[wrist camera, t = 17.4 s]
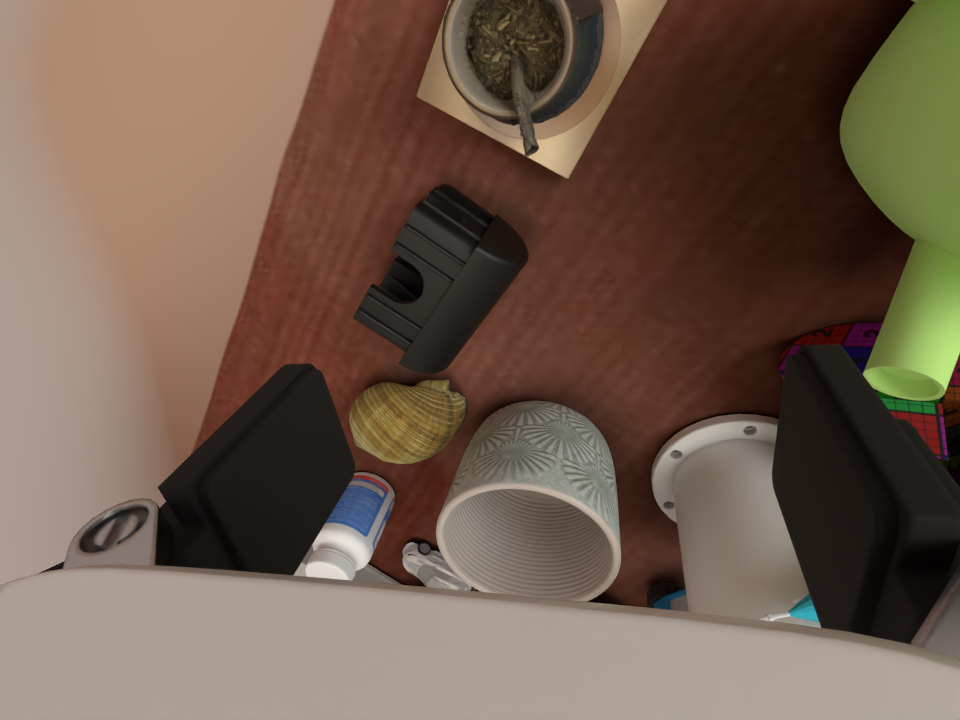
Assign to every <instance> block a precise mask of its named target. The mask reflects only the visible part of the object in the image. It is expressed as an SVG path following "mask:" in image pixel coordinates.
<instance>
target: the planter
mask: <svg viewBox="0 0 960 720" xmlns="http://www.w3.org/2000/svg"><path fill="white" fill-rule="evenodd" d="M436 539H437V544H438V547H439V550H440V552H441V554H442V556H443V558H444V560H445V561H446V563H447V564H448V565H449V567H450V568H451V569H452V570H453V571H454V572H455V573H456V574H457V575H458V576H459V577H460V578H461V579H462V580H464V581H465V582H466V583H468V584H469V585H470V586H472V587H474V588H475V589H477V590H479V591H480V592H487V593H498V594H509V595H519V596H530V597H541V598H551V599H562V600H572V601H583V602H587V601H589V600H591V599H593V598H595V597H597V596H598V595H600V594H601V593H603V592H604V591H605V590H606V589H607V588H608V587H609V586H610V585H611V584H612V583H613V581H614V580H615V578H616V576H617V574H618V572H619V569H620V564H621V547H620V529H619V512H618V497H617V487H616V477H615V470H614V465H613V460H612V456H611V453H610V450H609V447H608V445H607V443H606V441H605V439H604V437H603V435H602V434H601V433H600V431H599V430H598V429H597V427H596V426H595V425H594V424H593V423H592V422H591V421H590V420H589V419H587V418H586V417H585V416H583V415H582V414H580V413H578V412H577V411H575V410H573V409H571V408H569V407H566V406H564V405H560V404H557V403H553V402H547V401H524V402H518V403H514V404H511V405H508V406H505V407H503V408H501V409H499V410H498V411H496V412H495V413H493V414H492V415H490V416H489V417H488V418H487V419H486V420H485V421H484V422H483V423H482V424H481V426H480V427H479V428H478V430H477V431H476V433H475V434H474V436H473V438H472V439H471V441H470V443H469V445H468V447H467V449H466V451H465V453H464V456H463V458H462V460H461V462H460V465H459V467H458V470H457V472H456V475H455V477H454V480H453V482H452V485H451V487H450V490H449V492H448V495H447V497H446V500H445V503H444V505H443V508H442V510H441V513H440V515H439V518H438V521H437V525H436Z"/></svg>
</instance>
